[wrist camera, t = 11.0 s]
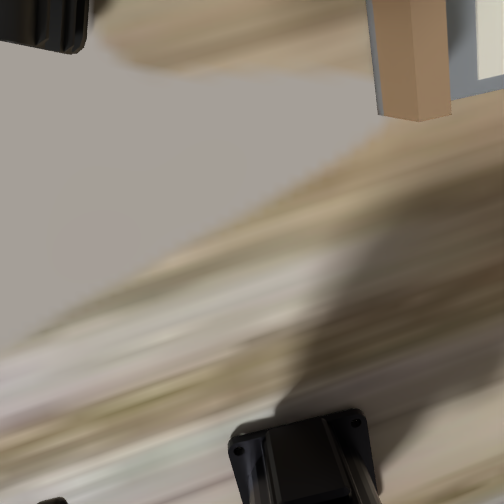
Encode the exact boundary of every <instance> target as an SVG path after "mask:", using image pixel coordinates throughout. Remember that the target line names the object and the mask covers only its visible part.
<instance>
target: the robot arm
mask: <svg viewBox="0 0 504 504" xmlns="http://www.w3.org/2000/svg"><path fill="white" fill-rule="evenodd" d="M354 419H357V421H355V422H351V421H352V420H354ZM237 447H242V448H241V449H235V448H237ZM228 454H229V458H230V461H231V465H232V468H233V471H234V475H235V478H236V482H237V485H238V488H239V492H240V495H241V499H242V502H243V504H382V503H381V501H380V499H379V496H378V493H377V487H376V480H375V473H374V467H373V460H372V453H371V447H370V440H369V433H368V427H367V420H366V418H365V416H364V414H363V412H362V411H361V410H360V409H349V410H345V411H341V412H337V413H332V414H328V415H324V416H320V417H316V418H312V419H307V420H303V421H299V422H295V423H291V424H287V425H282V426H278V427H274V428H270V429H266V430H262V431H257V432H253V433H249V434H245V435H241V436H237V437H234V438H232V439H231V440H230V441H229V443H228ZM37 504H68V503H67V501H66V500H65V499H64V498H63V497H57V498H52V499H48V500H44V501H41V502H39V503H37Z"/></svg>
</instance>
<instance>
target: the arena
mask: <svg viewBox="0 0 504 504" xmlns="http://www.w3.org/2000/svg"><path fill="white" fill-rule="evenodd" d="M366 7H367V16H368V26H369V35H370V44H371V54H372V63H373V72H374V82H375V91H376V100H377V110H378V115H382V116H388V117H393V118H399V119H405V120H411V121H416V122H421V121H426V120H430V119H435V118H439V117H443V116H448V115H452V114H451V100H456V99H460V98H465V97H469V96H473V95H478V94H482V93H486V92H491V91H495V90H500V89H504V0H366Z"/></svg>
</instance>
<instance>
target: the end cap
mask: <svg viewBox="0 0 504 504" xmlns="http://www.w3.org/2000/svg"><path fill="white" fill-rule="evenodd" d="M88 11H89V0H0V41H5V42H9V43H15V44H19V45H24V46H30V47H35V48H39V49H44V50H49V51H54V52H59V53H64V54H77V53H78V52H79V51H80V50H82V49H83V48H84V45H85V42H86V39H87V26H88Z"/></svg>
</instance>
